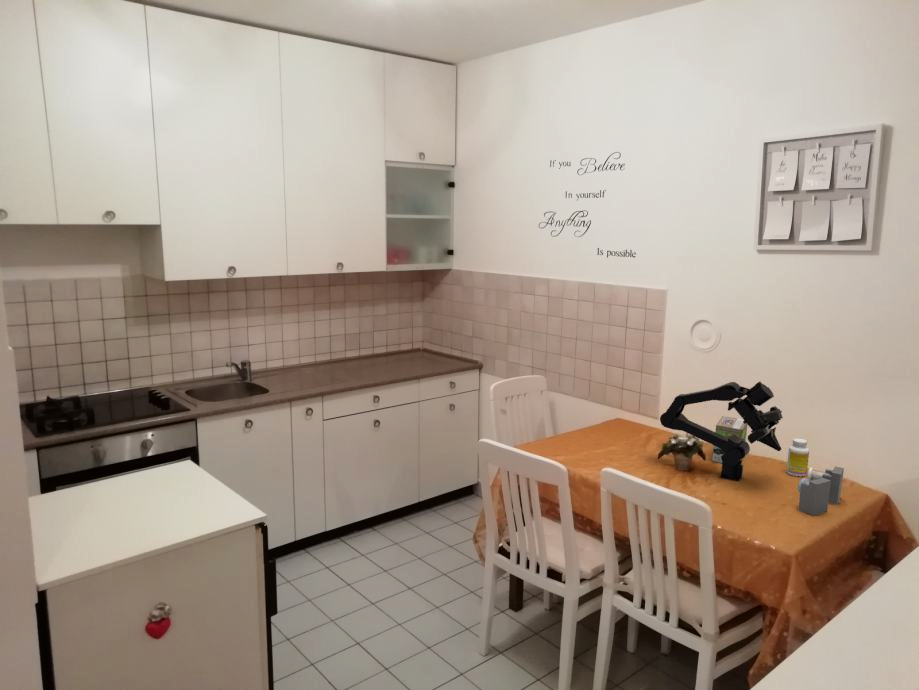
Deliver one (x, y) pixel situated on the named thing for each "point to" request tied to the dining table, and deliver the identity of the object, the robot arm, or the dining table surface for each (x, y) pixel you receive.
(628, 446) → the dining table surface
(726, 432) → the tea box
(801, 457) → the supplement bottle
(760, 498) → the dining table surface
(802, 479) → the button blue
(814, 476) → the button ivory
